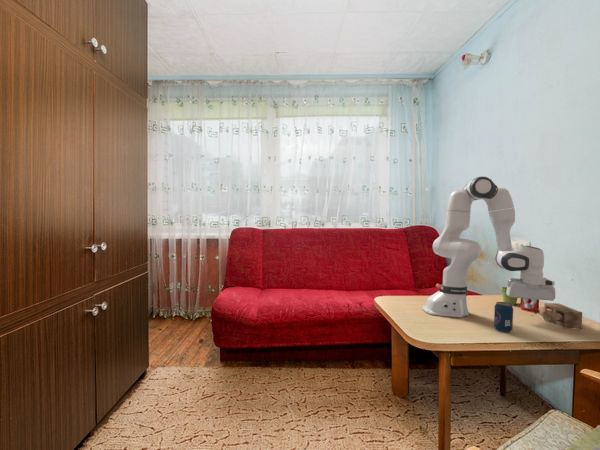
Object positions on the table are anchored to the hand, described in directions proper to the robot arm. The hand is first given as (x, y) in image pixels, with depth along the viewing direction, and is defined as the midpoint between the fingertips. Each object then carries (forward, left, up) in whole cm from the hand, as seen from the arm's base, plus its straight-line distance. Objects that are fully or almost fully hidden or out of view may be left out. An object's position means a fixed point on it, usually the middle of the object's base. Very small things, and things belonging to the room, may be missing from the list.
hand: (529, 307), depth 151 cm
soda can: (-20, -15, -6) cm, 26 cm away
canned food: (+11, +18, -6) cm, 22 cm away
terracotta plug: (+11, +1, -4) cm, 12 cm away
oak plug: (+8, -6, -4) cm, 11 cm away
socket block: (+14, -2, -6) cm, 15 cm away
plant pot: (+7, +29, -6) cm, 30 cm away
